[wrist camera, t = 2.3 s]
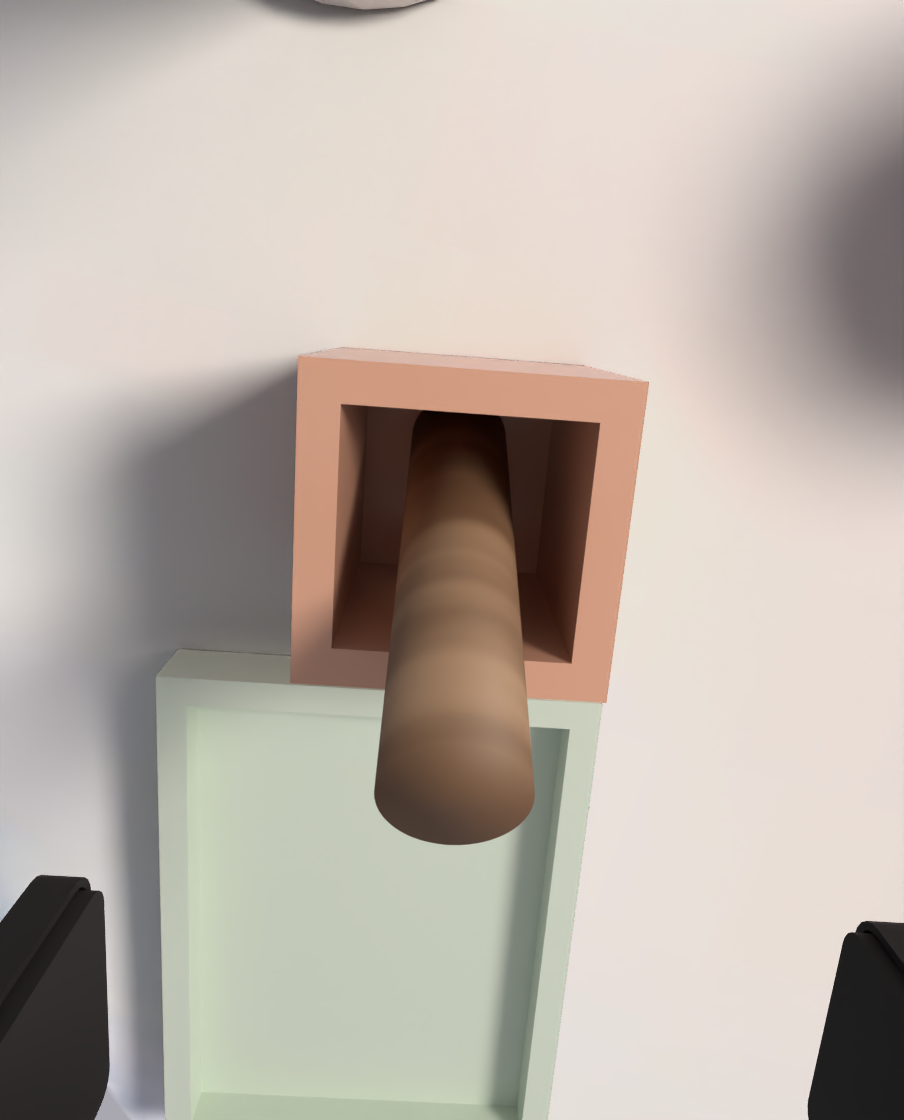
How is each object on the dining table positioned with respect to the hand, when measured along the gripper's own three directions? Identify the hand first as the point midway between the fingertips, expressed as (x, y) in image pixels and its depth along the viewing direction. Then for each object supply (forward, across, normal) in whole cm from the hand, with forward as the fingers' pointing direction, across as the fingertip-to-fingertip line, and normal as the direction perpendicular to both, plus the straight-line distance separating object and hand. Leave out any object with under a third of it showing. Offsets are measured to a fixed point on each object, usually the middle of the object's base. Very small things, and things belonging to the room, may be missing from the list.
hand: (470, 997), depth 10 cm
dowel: (+19, 0, -3) cm, 19 cm away
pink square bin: (+20, 0, -4) cm, 20 cm away
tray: (+20, +2, +14) cm, 24 cm away
